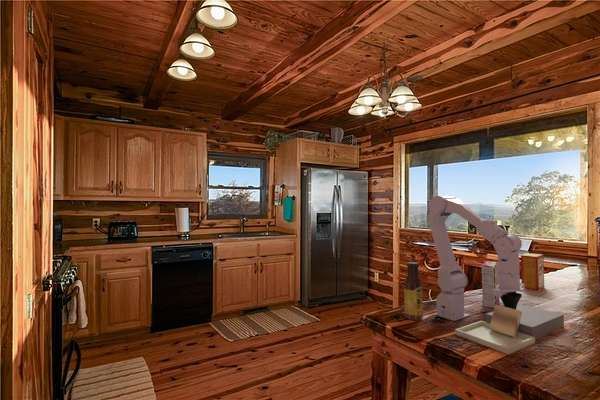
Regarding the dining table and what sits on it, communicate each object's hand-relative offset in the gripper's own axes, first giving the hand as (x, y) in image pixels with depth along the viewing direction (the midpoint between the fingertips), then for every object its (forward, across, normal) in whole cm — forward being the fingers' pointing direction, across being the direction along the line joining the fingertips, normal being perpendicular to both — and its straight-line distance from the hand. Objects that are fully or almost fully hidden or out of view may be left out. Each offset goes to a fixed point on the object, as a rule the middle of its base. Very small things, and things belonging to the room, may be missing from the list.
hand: (510, 315), depth 103 cm
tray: (+5, -9, 0) cm, 11 cm away
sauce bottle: (+5, -15, +25) cm, 30 cm away
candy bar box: (+5, +23, +19) cm, 30 cm away
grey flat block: (+5, +9, 0) cm, 10 cm away
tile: (+1, -2, 0) cm, 3 cm away
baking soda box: (+5, +63, +22) cm, 67 cm away
